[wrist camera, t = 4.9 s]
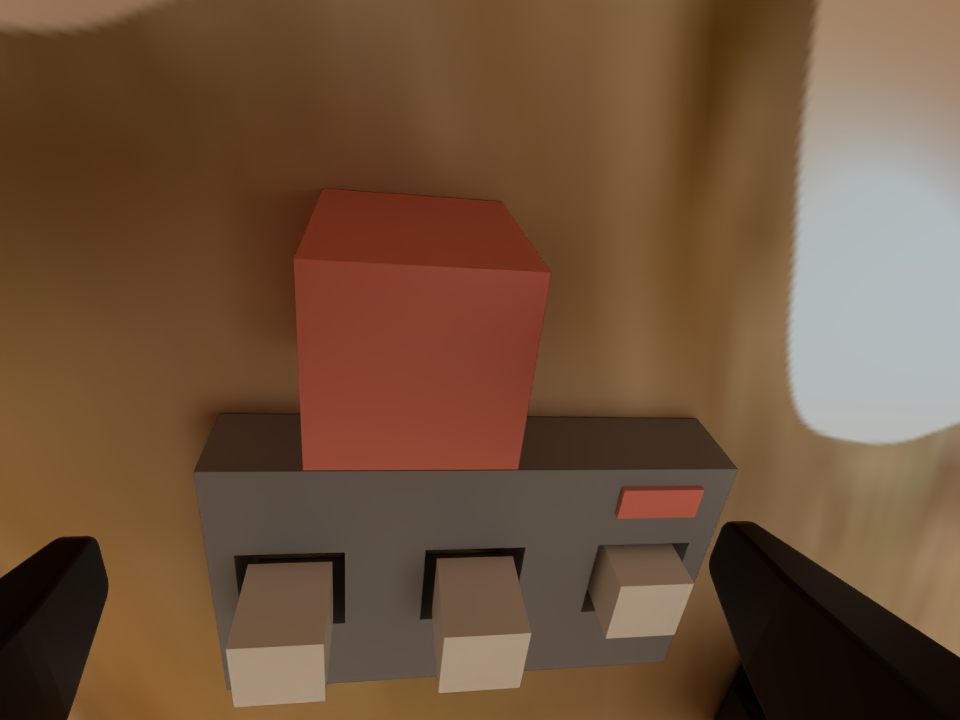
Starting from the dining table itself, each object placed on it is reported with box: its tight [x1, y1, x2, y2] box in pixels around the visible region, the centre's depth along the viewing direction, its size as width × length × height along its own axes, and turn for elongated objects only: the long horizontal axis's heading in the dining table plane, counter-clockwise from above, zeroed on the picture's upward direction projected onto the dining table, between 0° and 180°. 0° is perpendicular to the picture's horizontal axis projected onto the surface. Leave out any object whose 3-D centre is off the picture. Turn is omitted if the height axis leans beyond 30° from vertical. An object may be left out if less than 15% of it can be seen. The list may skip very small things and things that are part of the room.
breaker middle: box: [432, 556, 531, 693], centre depth 19 cm, size 3×3×3 cm
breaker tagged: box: [587, 543, 694, 639], centre depth 22 cm, size 3×3×3 cm
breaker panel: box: [194, 414, 738, 690], centre depth 22 cm, size 17×10×3 cm, turn 84°
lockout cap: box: [294, 189, 551, 470], centre depth 16 cm, size 5×5×6 cm
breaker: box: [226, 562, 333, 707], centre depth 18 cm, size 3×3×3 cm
